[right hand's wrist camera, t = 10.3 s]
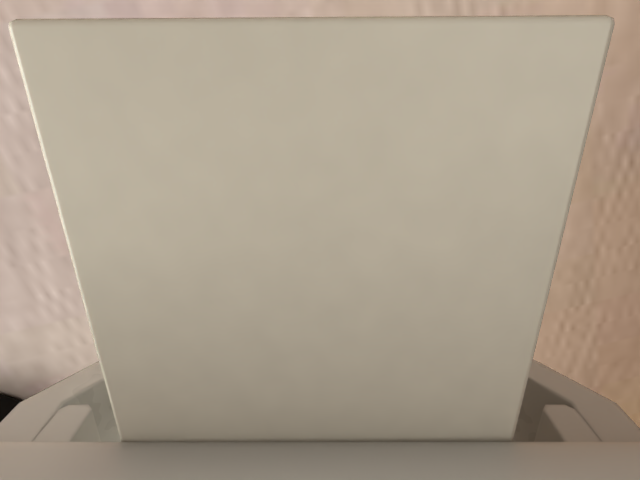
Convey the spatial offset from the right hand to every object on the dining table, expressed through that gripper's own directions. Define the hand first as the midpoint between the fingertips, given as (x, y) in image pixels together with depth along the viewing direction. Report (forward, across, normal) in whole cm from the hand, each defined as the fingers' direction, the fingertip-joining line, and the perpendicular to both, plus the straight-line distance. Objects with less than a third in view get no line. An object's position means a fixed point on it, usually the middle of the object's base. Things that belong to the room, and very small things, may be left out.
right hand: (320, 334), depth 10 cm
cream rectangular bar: (+3, 0, -20) cm, 20 cm away
